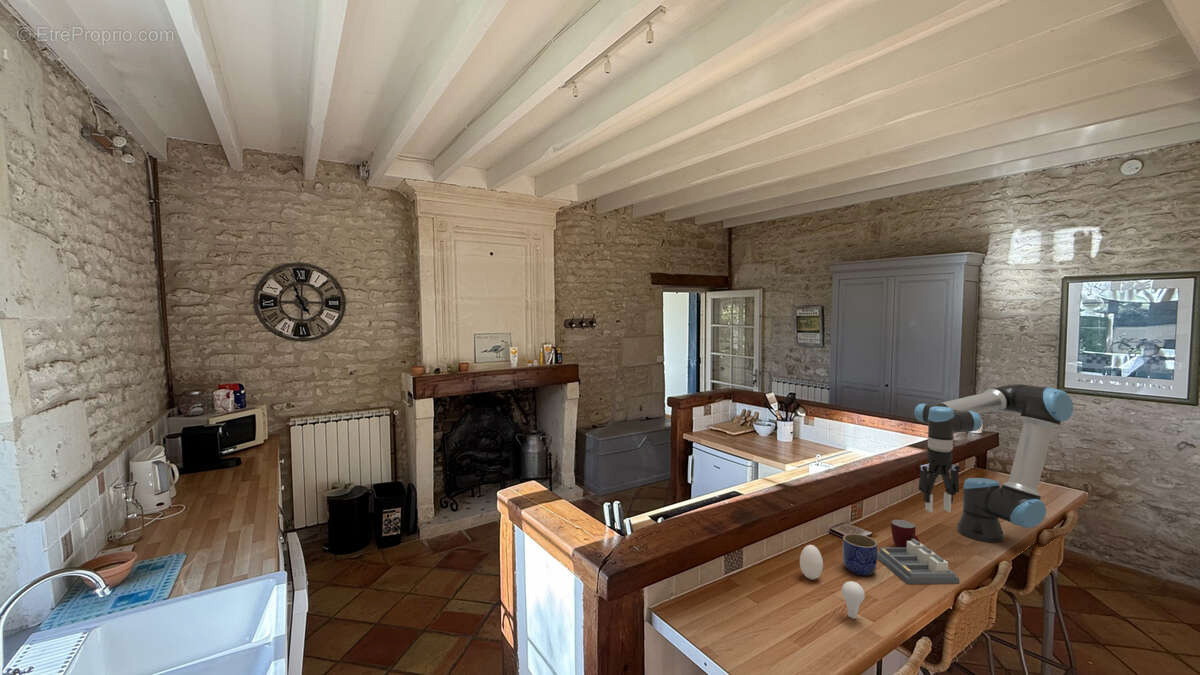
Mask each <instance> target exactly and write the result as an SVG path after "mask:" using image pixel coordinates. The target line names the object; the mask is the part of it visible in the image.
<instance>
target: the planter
mask: <svg viewBox="0 0 1200 675" xmlns="http://www.w3.org/2000/svg"><path fill="white" fill-rule="evenodd" d="M877 552H878V542H877V541H876V540H875V539H873V538H872V537H870V536H867V535H864V534H860V533H846V534H844V535H843V537H842V561H843V563H844V566H845V567H846V569H847V570H848V571H849V572H851V573H853V574H856V575H858V576H870V575H872V574H873V573H874V572H875V571H876V568H877V563H878V559H877Z"/></svg>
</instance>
